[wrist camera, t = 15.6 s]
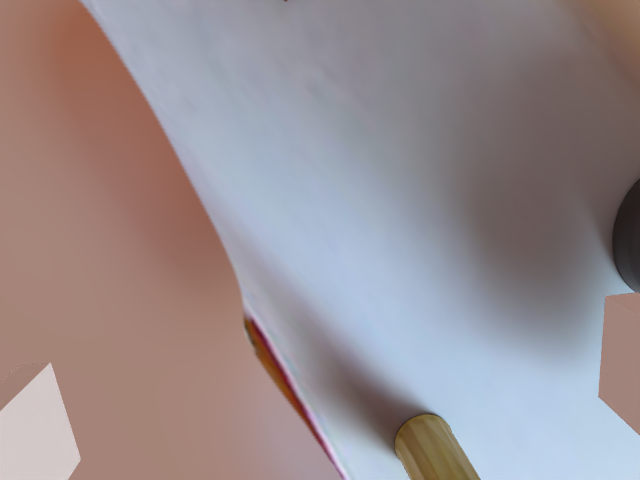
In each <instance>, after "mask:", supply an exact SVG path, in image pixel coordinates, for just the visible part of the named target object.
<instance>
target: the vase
mask: <svg viewBox="0 0 640 480" xmlns="http://www.w3.org/2000/svg"><path fill="white" fill-rule="evenodd" d="M395 451H396V454H397V456H398V458H399V460H400V461H401V462H402V464H403V466H404V468H405V470H406V472H407V474H408V476H409V478H410V479H411V480H481V479H480V478H479V476H478V474H477V473H476V471H475V469H474V468H473V466H472V464H471V463H470V461H469V459H468V458H467V456H466V454H465V453H464V451H463V450H462V448H461V446H460V445H459V443H458V441H457V440H456V438H455V437H454V435H453V433H452V431H451V428H450V426H449V425H448V424H447V422H446V421H444V420H443V419H442V418H440V417H438V416H435V415H429V414H424V415H419V416H416V417H413V418H411V419H410V420H408V421H407V422H406V423H405V424H404V425H403V426H402V427H401V428H400V430H399V431H398V433H397V435H396V439H395Z"/></svg>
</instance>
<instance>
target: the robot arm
mask: <svg viewBox="0 0 640 480" xmlns="http://www.w3.org/2000/svg"><path fill="white" fill-rule="evenodd" d="M613 249H614V257H615V261H616V264H617V267H618V270H619V272H620V274H621V276H622V278H623V279H624V281H625V282H626V283H627V284H628V286H629V287H630V288H631V289H633V290H634V291H635V292H636V293H628V294H619V295H611V296H605V310H604V324H603V338H602V352H601V366H600V380H599V394H598V397H599V398H600V399H601V400H602V401H604V402H605V403H606V404H607V405H608V406H609V407H610V408H611V409H612V410H613V411H614V412H615V413H616V414H617V415H618V416H619V417H621V418H622V419H623V420H624V421H625V422H626V423H627V424H628V425H629V426H630V427H631V428H632V429H633V430H634V431H635V432H637V433H638V434H639V435H640V180H639V181H638V182H637V183H636V184H635V185H634V186H633V188H632V189H631V190H630V192H629V193H628V195H627V197H626V198H625V200H624V202H623V204H622V206H621V208H620V211H619V213H618V216H617V220H616V223H615V228H614V236H613ZM80 460H81V459H80V455H79V452H78V449H77V446H76V442H75V439H74V436H73V433H72V430H71V426H70V423H69V420H68V417H67V414H66V410H65V407H64V404H63V401H62V397H61V394H60V391H59V388H58V385H57V381H56V378H55V375H54V372H53V369H52V366H51V363H50V362H49V363H41V364H33V365H24V366H17V367H16V368H15V369H14V370H13V371H12V372H11V373H9V374H8V375H7V376H6V377H5V378H4V379H3V380H2V381H0V480H68V478H69V477H70V475H71V474H72V472H73V471H74V469H75V468H76V466H77V464H78V463H79V461H80Z"/></svg>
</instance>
